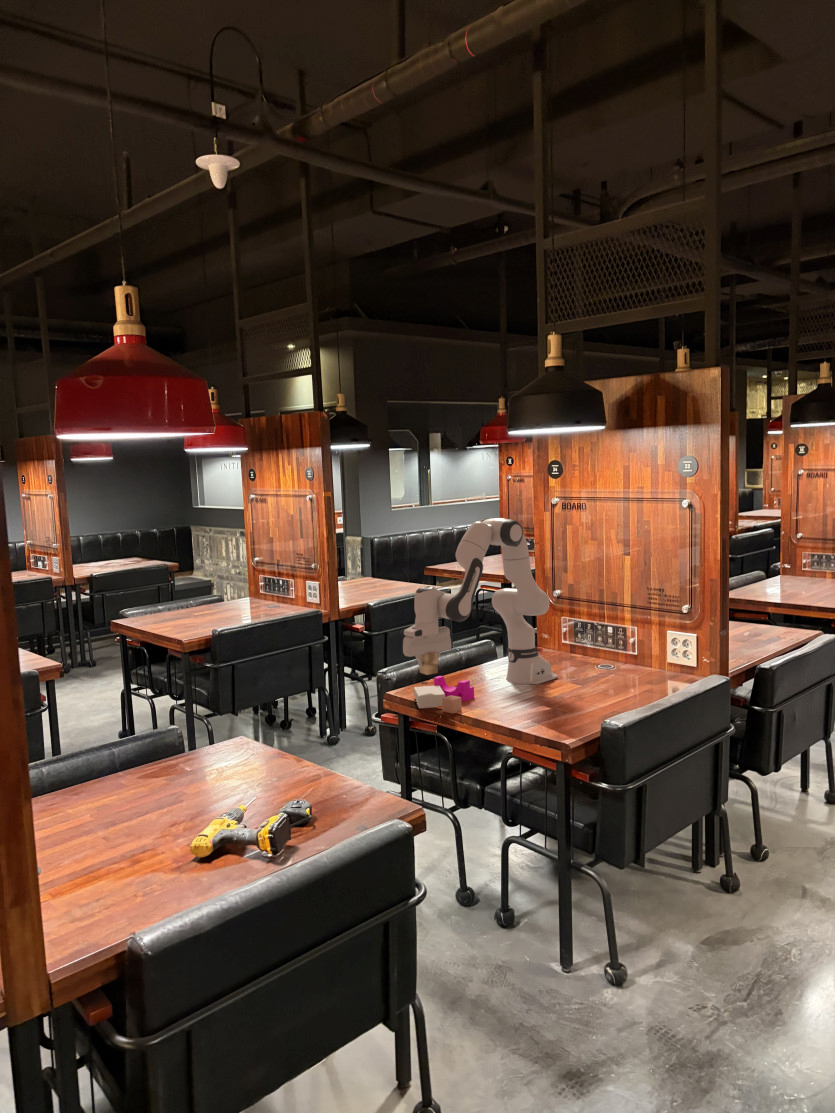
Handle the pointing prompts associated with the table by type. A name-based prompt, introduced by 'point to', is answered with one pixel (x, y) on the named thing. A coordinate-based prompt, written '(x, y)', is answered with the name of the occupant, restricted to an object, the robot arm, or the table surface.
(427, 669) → the maple block
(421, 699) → the base block
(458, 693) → the toy block
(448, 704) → the terracotta cube
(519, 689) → the table surface
